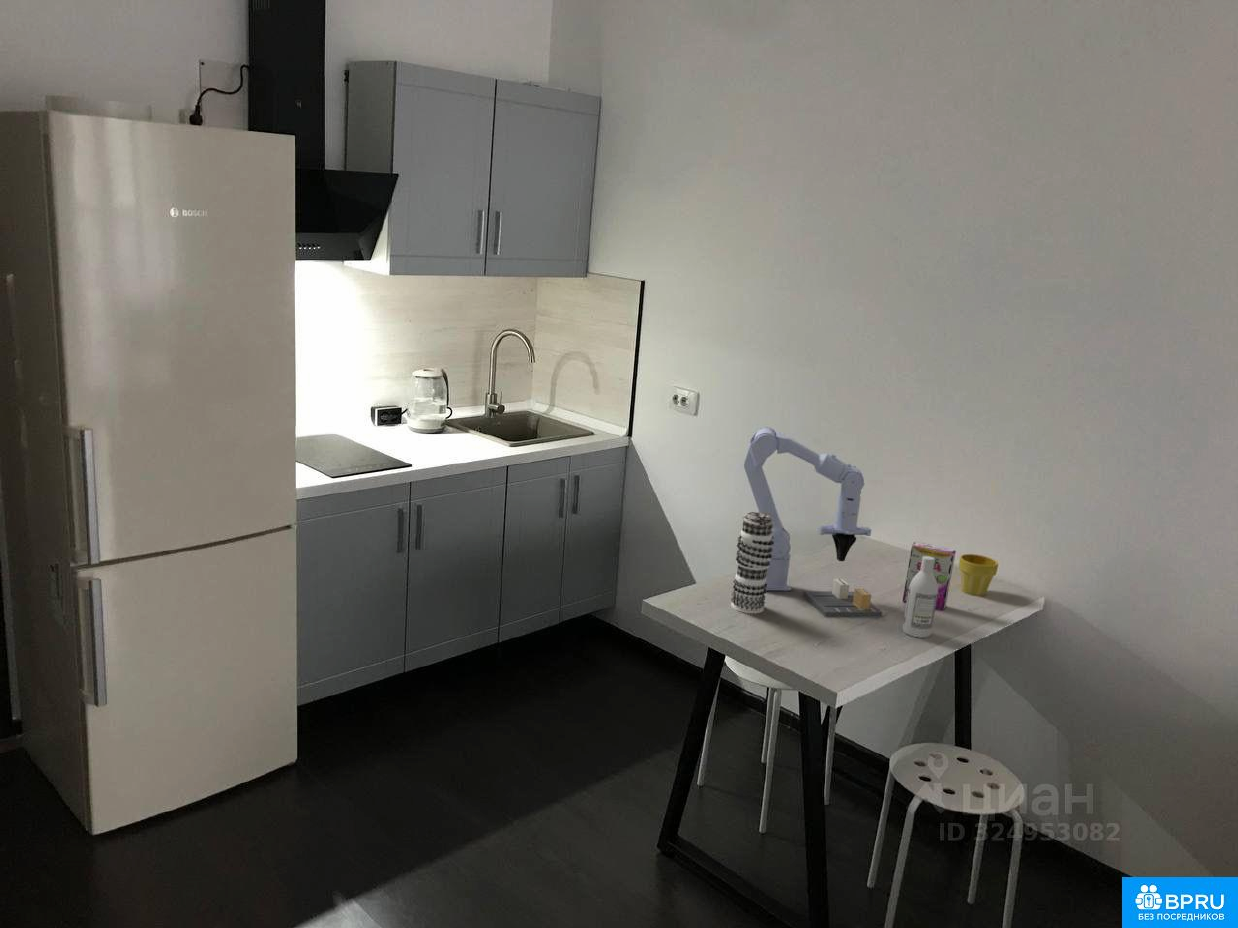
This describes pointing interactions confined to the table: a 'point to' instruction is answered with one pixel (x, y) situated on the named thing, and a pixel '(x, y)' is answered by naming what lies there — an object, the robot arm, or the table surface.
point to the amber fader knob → (862, 599)
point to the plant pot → (976, 573)
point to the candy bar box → (940, 569)
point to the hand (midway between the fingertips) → (840, 560)
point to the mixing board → (839, 605)
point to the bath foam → (921, 601)
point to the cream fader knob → (840, 589)
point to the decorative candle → (752, 563)
